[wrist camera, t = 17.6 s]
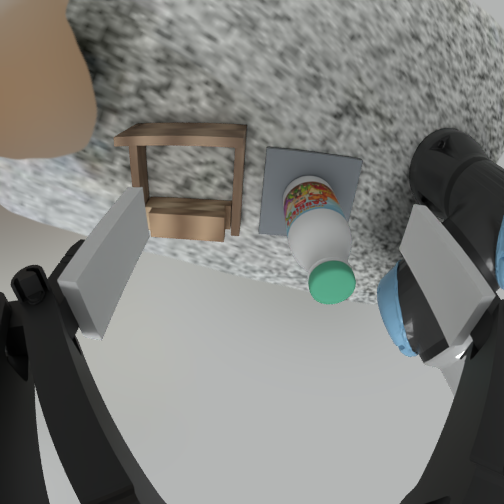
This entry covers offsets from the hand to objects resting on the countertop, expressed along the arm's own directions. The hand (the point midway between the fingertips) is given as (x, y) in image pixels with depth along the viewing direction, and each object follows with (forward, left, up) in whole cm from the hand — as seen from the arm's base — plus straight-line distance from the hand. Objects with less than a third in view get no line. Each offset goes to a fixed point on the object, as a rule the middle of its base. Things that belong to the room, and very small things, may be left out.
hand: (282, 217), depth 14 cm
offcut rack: (+11, +10, -30) cm, 33 cm away
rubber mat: (-7, +12, -30) cm, 33 cm away
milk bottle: (-7, +12, -29) cm, 32 cm away
